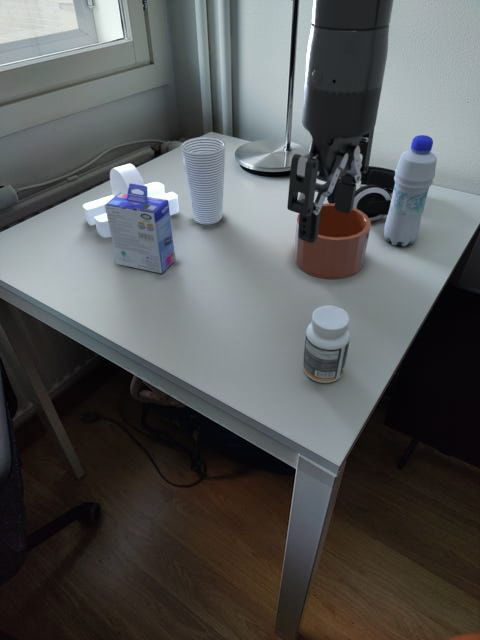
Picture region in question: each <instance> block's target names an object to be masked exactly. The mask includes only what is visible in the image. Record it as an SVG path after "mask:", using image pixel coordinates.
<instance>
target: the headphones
mask: <svg viewBox="0 0 480 640" xmlns="http://www.w3.org/2000/svg"><path fill="white" fill-rule="evenodd" d="M394 177H395V170H394V169H390V168H386V167H380V166H374V165H373V166H372V165H369V168H368V171H367V172H366V173H365V174H364V173H361V180H360V185H362V186H360V187H359V188H358V187H357V188H356V192H355V198H354V204H353V208H355V209H358V210H360V211H362V212H363V213H364V214H366V215H367V217H368V218H369V220H370V223H371V222H375V221H376V222H377V221H378V220H380V219H382V218H383V217H385V216H388V212H389V209H390V204H391V199H392V194H391V192H390V191H393V190H394V185H395V180H394ZM340 180H342V179H338V180H337V182H338V181H340ZM337 182H336V184H335V187H334V189H333V192H332V194H331V195H329V196H326V199H327V204H329V203H331V204H335V198H336V190H337ZM389 190H390V191H389Z"/></svg>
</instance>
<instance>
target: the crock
mask: <svg viewBox="0 0 480 640" xmlns="http://www.w3.org/2000/svg"><path fill="white" fill-rule="evenodd" d="M334 206H335V203H334V204H331V203H323V205H322V208H321V210H320V221H319V230H318V239H317V240H316V241H315V242H314V243H310V242H307V241H304V240H301V239H300V238H299V237H298V228H299V213H297V216H296V217H297V218H296V224H295V226H296V227H295V238H294V250H293V253H294V254H293V258H294V263H295V264H296V266H297V267H298V268H299V269H300V270H301V271H302V272H304V273H305V274H308V275H310V276H312V277H316V278H320V279H326V280H339V279H345V278H349V277H352V276H354V275H355V274H357V273H358V272H359V271H360V270H361V269H362V267H363V265H364V262H365V257H366V252H367V247H368V242H369V236H370V232H371V222H370V220H369V218H368V217H367V215H366V214H364V213H363V212H362V211H360V210H358V209H355V208H353V210H352V211H351V212H350V213H348V214H346V213H343V212H340V211H337V210H336V209H335V207H334Z"/></svg>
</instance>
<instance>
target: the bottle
mask: <svg viewBox="0 0 480 640" xmlns="http://www.w3.org/2000/svg"><path fill="white" fill-rule="evenodd" d="M433 145H434V140H433V138H432V137H431V136H429V135H425V134H421V135H416V136H414V137H413V138H412V141H411V145H410V149H407V150H405V151H403V152H402V153H401V154H400V157H399V159H398V163H397V165H396V168H395V170H394V171H395V177H394V180H395V185H394V190H392V194H391V196H392V199H391V204H390V209H389V212H388V215H386V219H385V223H384V228H383V233H384V234H383V235H384V240H385V241H386V242H391V244H392V245H393V246H397V244H398V243H401V246H402V247H406V246H407V245H411V244H413V243H414V242H415V241H416V239H417V237H418V235H419V231H420V227H421V222H422V216H423V212H424V209H425V204H426V202H427V198H428V194H429V190H430V187H431V186H432V185H433V183H434V181H433V180H434V179H435V177H436V168H437V161H438V157H437V155H436V154H435V153H433V152H432V149H433Z"/></svg>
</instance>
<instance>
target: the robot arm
mask: <svg viewBox="0 0 480 640" xmlns="http://www.w3.org/2000/svg"><path fill="white" fill-rule="evenodd" d="M394 1H395V0H312V10H311V11H312V13H311V25H310V32H309V37H308V41H307V42H308V43H307V48H306V56H305V71H304V87H303V100H302V101H303V102H302V114H301V115H302V116H301V123H302V127H303V128H304V129H305V130H306V131H307V132H308V133H309V135H310V136H311V143H310V146H309V150H308V153H307V154H305V155H303V154H298V153H294V154H293V155H292V158H291V162H290V173H289V184H288V185H289V186H288V195H287V208H286V209H287V210H288V211H291V212H293V213H297V214H299V228H298V237H299V238H300V239H301V240H304V241H307V242H310V243H314V242H315V241H316V240H317V239H318V230H319V221H320V210H321V208H322V205H323V204H325V203H324V202H325V200H326V199H327V196H329V195H331V194H332V192H333V189H334V187H335V184H336V182H337V180H338V179H342V180H340V181H338V182H337V190H336V198H335V203H334V204H335V206H334V207H335V209H336V210H337V211H340V212H343V213H346V214H348V213H350V212H351V211H352V210H353V204H354V198H355V192H356V190H357V185H358V184H359V183H361V181H360V180H361V173H364V174H365V173H366V172H367V171H368V168H369V166H370V160H371V153H372V147H373V140H374V135H375V133H374V132H375V127H376V123H377V119H378V112H379V106H380V101H381V94H382V89H383V82H384V76H385V71H386V64H387V59H388V54H389V53H388V51H389V34H390V33H389V32H390V23H391V19H392V13H393V7H394ZM361 156H362V157H361ZM317 180H318V181H321V182H325V183H323V184H322V183H318V182H317ZM299 193H300V194H299ZM316 193H317V195H316ZM315 195H316V197H315Z"/></svg>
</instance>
